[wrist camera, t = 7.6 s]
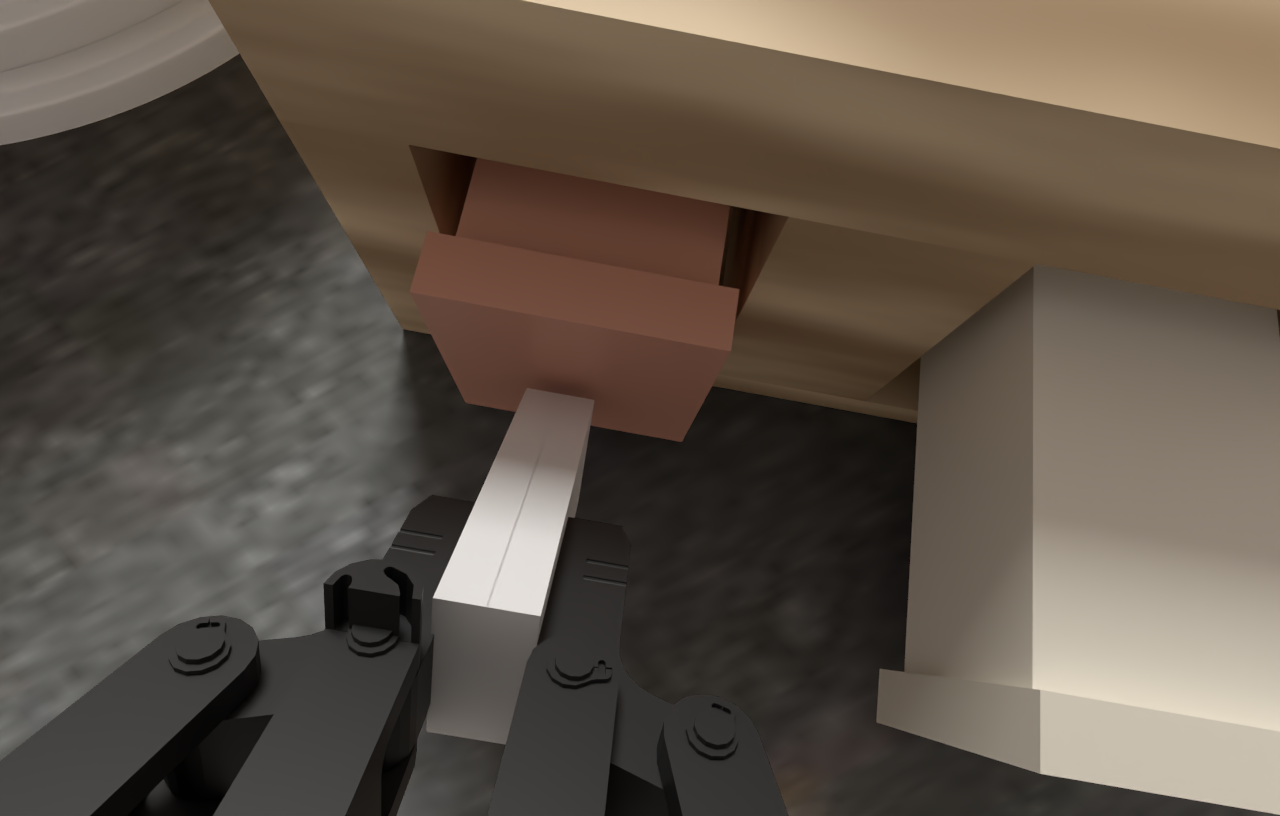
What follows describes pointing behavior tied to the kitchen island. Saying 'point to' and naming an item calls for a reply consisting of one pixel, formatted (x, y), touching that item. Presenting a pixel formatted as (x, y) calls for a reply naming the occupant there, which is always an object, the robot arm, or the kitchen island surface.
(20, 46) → the plate stack
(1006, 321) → the cream plug
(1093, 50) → the wooden box
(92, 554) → the kitchen island surface
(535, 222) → the rust plug
